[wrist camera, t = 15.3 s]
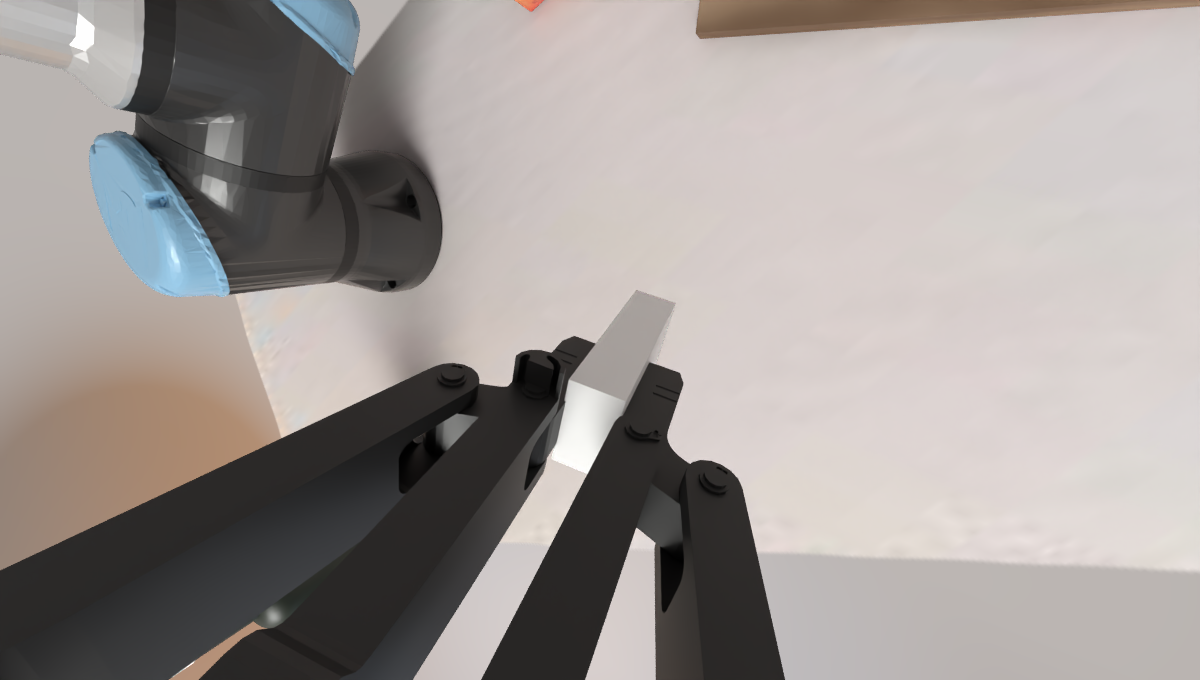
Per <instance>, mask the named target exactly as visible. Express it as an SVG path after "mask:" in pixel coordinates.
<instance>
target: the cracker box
mask: <svg viewBox="0 0 1200 680" xmlns="http://www.w3.org/2000/svg"><path fill="white" fill-rule="evenodd" d="M515 1H516V2H518V3H519V4H521V5H522V6H523V7H525V8H526V9H528V10H529V11H531V12H532V11H533V10H534V9H535V8H536V7H537V6H538V5H539V4H540V3H542V1H544V0H515Z"/></svg>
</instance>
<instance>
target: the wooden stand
mask: <svg viewBox="0 0 1200 680" xmlns="http://www.w3.org/2000/svg"><path fill="white" fill-rule="evenodd" d="M1194 6H1200V0H700V3H699V11H698V19H697V27H696V34H697V35H698V37H699V38H700V39H704V38H719V37H734V36H750V35H765V34H780V33H796V32H811V31H826V30H842V29H857V28H872V27H887V26H903V25H918V24H933V23H949V22H964V21H979V20H995V19H1010V18H1025V17H1040V16H1056V15H1071V14H1086V13H1102V12H1117V11H1132V10H1148V9H1163V8H1178V7H1194Z"/></svg>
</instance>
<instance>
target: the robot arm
mask: <svg viewBox="0 0 1200 680" xmlns="http://www.w3.org/2000/svg"><path fill="white" fill-rule="evenodd" d="M359 31H360V23H359V18H358V15H357V12H356V10H355V8H354V7H353V5H352V4H351V2H350V1H349V0H0V55H5V56H9V57H13V58H17V59H22V60H26V61H30V62H34V63H38V64H42V65H46V66H51V67H55V68H59V69H62V70H64V71H66V72H67V73H69V74H71V75H72V76H74V77H75V78H76V79H77V80H78V81H79V82H80V83H81V84H83V85H84V86H85V87H86V88H87V89H88V90H89V91H90V92H92V94H94V95H95V96H96V97H97V98H98V99H99V100H100V101H101V102H102V103H104V104H105V105H106V106H109V107H112V108H116V109H120V110H126V111H130V112H135V113H136V122H135V132H134V134H133V135H129V134H127V133H126V132H121V131H115V132H113V133H104V134H102V135H98V136H97V137H96V138H95V140H94V144H93V145H92V146H91V148H90V155H89V162H90V174H91V180H92V185H93V189H94V193H95V196H96V200H97V204H98V206H99V209H100V212H101V215H102V218H103V220H104V223H105V225H106V227H107V229H108V231H109V234H110V236H111V238H112V240H113V242H114V244H115V245H116V247H117V249H118V251H119V252H120V254H121V255H122V257H123V258H124V260H125V262H126V263H127V264H128V266H129V267H130V268H131V269H132V271H133V272H134V273H135V274H136V275H137V276H138V277H139V279H140V280H142V281H143V282H144V283H145V284H146V285H148V286H149V287H151V288H152V289H154V290H156V291H158V292H160V293H162V294H165V295H169V296H175V297H186V296H206V295H216V296H220V297H223V296H227V295H229V294H238V293H246V292H255V291H263V290H272V289H280V288H288V287H297V286H305V285H314V284H322V283H332V282H338V283H342V284H347V285H351V286H355V287H360V288H364V289H369V290H373V291H378V292H396V291H403V290H408V289H412V288H414V287H416V286H418V285H419V284H420V283H422V282H423V281H424V280H425V279H426V278H427V277H428V275H429V274H430V272H431V271H432V269H433V267H434V265H435V263H436V260H437V257H438V254H439V250H440V244H441V218H440V212H439V207H438V203H437V200H436V197H435V195H434V192H433V190H432V188H431V186H430V184H429V182H428V180H427V179H426V177H425V176H424V174H423V173H422V172H421V171H420V169H419V168H418V167H417V166H416V165H415V164H413V163H412V162H411V161H410V160H408V159H406V158H405V157H403V156H400V155H398V154H394V153H388V152H382V151H362V152H358V153H353V154H349V155H345V156H340V157H336V158H332V159H330V158H331V154H332V150H333V146H334V142H335V138H336V134H337V130H338V126H339V122H340V118H341V114H342V110H343V106H344V102H345V98H346V94H347V90H348V86H349V82H350V78H351V75H352V76H354V73H355V69H354V67H353V62H354V57H355V51H356V47H357V42H358V37H359ZM675 304H676V303H673V302H670V301H667V300H664V299H661V298H658V297H655V296H652V295H650V294H647V293H644V292H641V291H638V290H636V291H635V293H634V294H633V295H632V297H631V298H630V299H629V301H628V302H627V303H626V305H625V306H624V307H623V309H622V310H621V311H620V313H619V314H618V315H617V317H616V318H615V319H614V321H613V322H612V323H611V324H610V326H609V327H608V328H607V330H606V331H605V332H604V334H603V335H602V336H601V338H600V339H599V340H598V342H597V343H596V344H595V343H592V342H590V341H587V340H584V339H581V338H579V337H576V336H574V337H571V338H568V339H566V340H563V341H562V342H561V343H560V344H559V345H558V346H557V347H556V349H555V350H554V351H553V352H552V353H550V352H546V351H542V350H528V351H524V352H521V353H520V354H518V355H516V359H515V366H514V373H513V380H512V383H511V384H510V385H509V386H508V387H498V386H490V385H484V384H479V377H478V374H477V373H476V372H475V371H474V370H473V369H472V368H470V367H468V366H465V365H462V364H456V363H448V364H441V365H438V366H435V367H432V368H430V369H428V370H426V371H424V372H422V373H420V374H418V375H415V376H413V377H411V378H409V379H407V380H405V381H403V382H400V383H398V384H396V385H394V386H392V387H390V388H388V389H386V390H383V391H381V392H379V393H377V394H375V395H373V396H371V397H369V398H366V399H364V400H362V401H360V402H358V403H356V404H354V405H352V406H349V407H347V408H345V409H343V410H341V411H339V412H337V413H335V414H332V415H330V416H328V417H326V418H324V419H322V420H320V421H318V422H315V423H313V424H311V425H309V426H307V427H305V428H303V429H300V430H298V431H296V432H294V433H292V434H290V435H288V436H286V437H283V438H281V439H279V440H277V441H275V442H273V443H271V444H269V445H266V446H264V447H262V448H260V449H258V450H256V451H254V452H252V453H250V454H247V455H245V456H243V457H241V458H239V459H237V460H235V461H233V462H230V463H228V464H226V465H224V466H222V467H220V468H217V469H215V470H213V471H211V472H209V473H207V474H205V475H203V476H200V477H198V478H196V479H194V480H192V481H190V482H188V483H186V484H184V485H181V486H180V487H177V488H175V489H173V490H171V491H169V492H166V493H164V494H162V495H160V496H158V497H156V498H154V499H152V500H149V501H147V502H145V503H143V504H141V505H139V506H137V507H135V508H132V509H130V510H128V511H126V512H124V513H122V514H120V515H117V516H116V517H113V518H111V519H109V520H107V521H105V522H103V523H101V524H98V525H96V526H94V527H92V528H90V529H88V530H86V531H84V532H81V533H79V534H77V535H75V536H73V537H71V538H69V539H66V540H64V541H62V542H60V543H58V544H56V545H54V546H52V547H49V548H47V549H45V550H43V551H41V552H39V553H37V554H35V555H32V556H30V557H28V558H26V559H24V560H22V561H20V562H18V563H15V564H13V565H11V566H9V567H7V568H5V569H3V570H0V680H169V679H170V678H172V677H173V676H174V675H176V674H177V673H179V672H180V671H181V670H183V669H184V668H186V667H187V666H188V665H190V664H191V663H192V662H194V661H195V660H197V659H198V658H199V657H201V656H202V655H203V654H205V653H206V652H208V651H209V650H210V649H212V648H213V647H215V646H216V645H217V644H219V643H220V642H222V641H223V640H224V639H226V638H227V637H228V636H230V635H231V634H233V633H234V632H235V631H237V630H238V629H240V628H241V627H242V626H244V625H245V624H246V623H248V622H249V621H251V620H252V619H253V618H255V617H256V616H258V615H259V614H260V613H262V612H263V611H265V610H266V609H267V608H269V607H270V606H271V605H273V604H274V603H276V602H277V601H278V600H280V599H281V598H283V597H284V596H285V595H287V594H288V593H289V592H291V591H292V590H294V589H295V588H296V587H298V586H299V585H301V584H302V583H303V582H305V581H306V580H307V579H309V578H310V577H312V576H313V575H314V574H316V573H317V572H319V571H320V570H321V569H323V568H324V567H325V566H327V565H328V564H330V563H331V562H332V561H334V560H335V559H337V558H338V557H339V556H341V555H342V554H343V553H345V552H346V551H348V550H349V549H350V548H352V547H353V546H355V545H356V544H357V543H359V542H360V541H361V540H362V541H361V542H360V543H359V544H358V545H357V546H356V547H355V548H354V549H353V550H352V551H351V552H350V553H349V554H348V555H347V556H346V558H345V559H344V560H343V561H342V562H341V563H340V564H339V565H338V566H337V567H336V568H335V569H334V570H333V571H332V572H331V573H330V574H329V575H328V576H327V578H326V579H325V580H324V581H323V582H322V583H321V584H320V585H319V586H318V587H317V588H316V589H315V590H314V591H313V592H312V593H311V594H310V595H309V597H308V598H307V599H306V600H305V601H304V602H303V603H302V604H301V605H300V606H299V607H298V608H297V609H296V610H295V611H294V612H293V613H292V614H291V615H290V616H289V617H288V618H287V619H286V620H285V621H284V622H283V623H281V624H279V625H278V626H276V627H274V628H268V629H261V630H256V631H255V632H253V633H251V634H249V635H248V636H246V637H244V638H242V639H241V640H240V641H239V642H238V643H237V644H235V645H234V646H233V647H232V648H231V649H230V650H228V651H227V652H226V653H225V654H224V655H223V656H222V657H221V658H220V659H219V660H218V661H217V662H216V663H215V664H214V665H213V666H212V667H211V668H210V669H209V670H208V671H207V672H206V673H205V674H204V675H203V676H202V677H201V678H200V679H199V680H413V678H414V677H415V675H416V674H417V672H418V671H419V669H420V667H421V665H422V664H423V662H424V661H425V659H426V658H427V656H428V655H429V653H430V651H431V650H432V648H433V647H434V645H435V644H436V642H437V640H438V639H439V637H440V636H441V634H442V632H443V631H444V629H445V628H446V626H447V624H448V623H449V621H450V619H451V618H452V616H453V615H454V613H455V612H456V610H457V608H458V607H459V605H460V604H461V602H462V600H463V599H464V598H465V596H466V594H467V593H468V591H469V590H470V588H471V586H472V584H473V583H474V582H475V580H476V578H477V577H478V575H479V574H480V572H481V571H482V569H483V567H484V566H485V564H486V562H487V561H488V559H489V558H490V556H491V555H492V553H493V551H494V550H495V548H496V547H497V545H498V544H499V542H500V540H501V539H502V537H503V536H504V534H505V532H506V531H507V529H508V528H509V526H510V525H511V523H512V521H513V520H514V518H515V517H516V515H517V513H518V512H519V510H520V509H521V507H522V505H523V504H524V502H525V501H526V499H527V498H528V496H529V494H530V493H531V491H532V490H533V488H534V486H535V485H536V483H537V482H538V480H539V478H540V477H541V475H542V474H543V472H544V469H545V465H546V461H547V457H548V455H549V454H550V452H551V451H552V449H553V448H554V450H553V455H552V460H555V461H557V462H559V463H562V464H564V465H567V466H569V467H571V468H574V469H576V470H579V471H581V472H583V473H586V474H587V476H586V478H585V480H584V482H583V484H582V486H581V488H580V490H579V492H578V493H577V495H576V497H575V499H574V501H573V503H572V505H571V507H570V509H569V511H568V513H567V515H566V517H565V519H564V521H563V522H562V524H561V526H560V528H559V530H558V532H557V534H556V536H555V538H554V540H553V542H552V544H551V546H550V548H549V550H548V552H547V554H546V555H545V557H544V559H543V561H542V563H541V565H540V567H539V569H538V571H537V573H536V575H535V577H534V579H533V581H532V583H531V584H530V586H529V588H528V590H527V592H526V594H525V596H524V598H523V600H522V602H521V604H520V606H519V608H518V610H517V611H516V614H515V615H514V617H513V619H512V621H511V623H510V625H509V627H508V629H507V631H506V633H505V635H504V637H503V639H502V641H501V642H500V644H499V646H498V648H497V650H496V652H495V654H494V656H493V658H492V660H491V662H490V664H489V666H488V668H487V670H486V671H485V674H484V675H483V677H482V679H481V680H585V678H586V675H587V672H588V669H589V666H590V663H591V660H592V657H593V654H594V651H595V648H596V645H597V642H598V639H599V636H600V633H601V630H602V627H603V625H604V622H605V619H606V616H607V612H608V610H609V607H610V603H611V601H612V598H613V595H614V592H615V589H616V586H617V583H618V580H619V577H620V574H621V570H622V568H623V565H624V562H625V559H626V556H627V553H628V550H629V547H630V544H631V541H632V538H633V535H634V532H635V529H636V527H637V528H638V529H639V530H641V531H642V532H643V533H644V534H645V535H647V536H648V537H649V538H650V539H652V540H653V541H654V542H655V543H656V544H655V635H656V637H655V642H656V680H785V677H784V673H783V668H782V664H781V659H780V655H779V651H778V646H777V641H776V637H775V632H774V628H773V623H772V619H771V615H770V610H769V606H768V601H767V597H766V592H765V588H764V584H763V579H762V574H761V570H760V566H759V561H758V556H757V552H756V547H755V543H754V538H753V534H752V530H751V525H750V521H749V516H748V512H747V507H746V503H745V498H744V494H743V489H742V486H741V484H740V482H739V480H738V478H737V477H736V476H735V475H734V474H733V473H732V472H731V471H730V470H728V469H727V468H725V467H724V466H722V465H721V464H718V463H715V462H712V461H706V460H699V461H696V462H692V463H691V464H689V463H687V462H686V461H685V460H683V459H682V458H681V457H679V456H678V455H677V454H676V453H675V452H674V451H673V450H672V448H671V447H670V445H669V443H668V439H667V433H668V429H669V426H670V423H671V420H672V417H673V414H674V411H675V408H676V405H677V402H678V399H679V396H680V393H681V390H682V387H683V381H682V378H681V375H680V373H678V372H676V371H673V370H670V369H667V368H665V367H662V366H659V365H656V362H657V359H658V356H659V353H660V350H661V347H662V344H663V341H664V338H665V335H666V332H667V329H668V326H669V323H670V320H671V317H672V313H673V310H674V307H675ZM422 434H423V435H422ZM420 435H421V436H420Z"/></svg>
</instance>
